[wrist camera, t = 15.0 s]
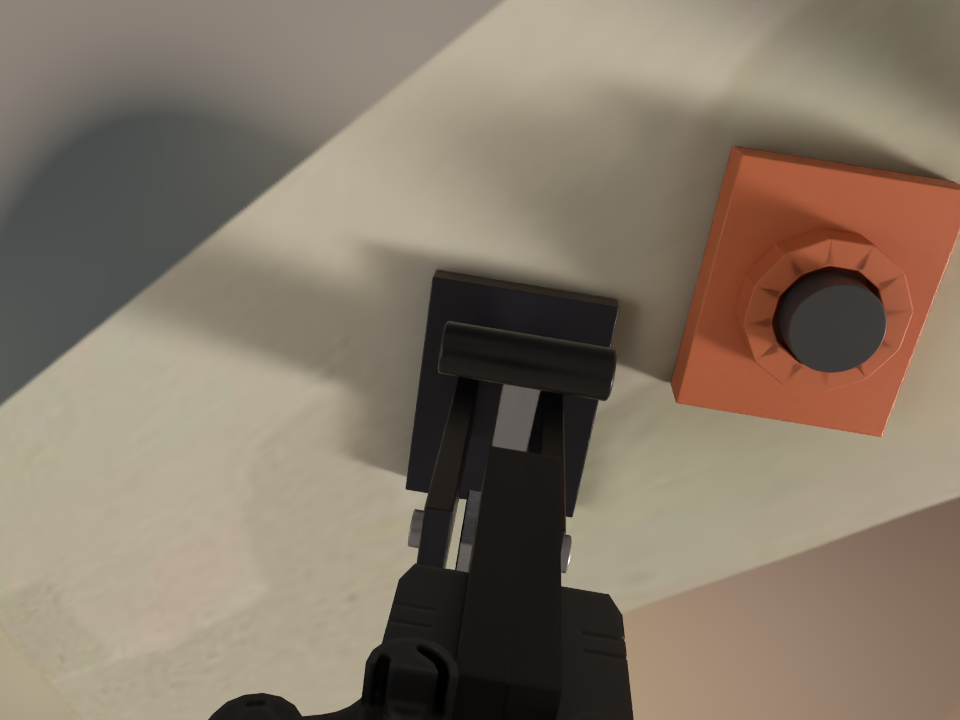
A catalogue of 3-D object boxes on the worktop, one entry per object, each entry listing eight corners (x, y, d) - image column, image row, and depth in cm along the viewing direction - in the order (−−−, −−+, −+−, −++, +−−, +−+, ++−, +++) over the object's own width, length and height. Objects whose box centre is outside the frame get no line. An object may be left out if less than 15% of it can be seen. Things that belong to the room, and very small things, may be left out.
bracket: (436, 269, 42) (378, 400, 28) (617, 299, 42) (647, 446, 28) (408, 477, 47) (348, 676, 33) (572, 505, 46) (578, 715, 33)
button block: (731, 145, 38) (750, 161, 35) (953, 181, 38) (995, 200, 35) (670, 384, 43) (680, 420, 40) (866, 417, 43) (895, 456, 39)
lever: (450, 300, 25) (437, 358, 24) (617, 327, 25) (616, 387, 24) (427, 522, 34) (416, 576, 32) (551, 543, 34) (546, 598, 32)
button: (793, 264, 37) (804, 276, 35) (885, 279, 37) (901, 292, 35) (767, 349, 38) (776, 365, 37) (856, 364, 38) (869, 380, 37)
